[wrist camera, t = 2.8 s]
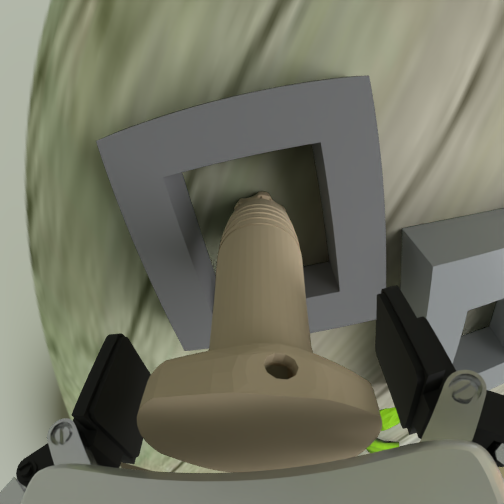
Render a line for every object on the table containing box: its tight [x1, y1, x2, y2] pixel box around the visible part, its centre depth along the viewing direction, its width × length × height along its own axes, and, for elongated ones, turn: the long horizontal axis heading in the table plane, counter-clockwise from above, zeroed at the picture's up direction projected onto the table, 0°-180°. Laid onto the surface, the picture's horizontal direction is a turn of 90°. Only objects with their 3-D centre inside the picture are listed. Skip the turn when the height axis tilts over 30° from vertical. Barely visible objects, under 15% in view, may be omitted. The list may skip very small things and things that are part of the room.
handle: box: [137, 191, 382, 473], centre depth 14 cm, size 5×6×15 cm
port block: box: [400, 208, 504, 390], centre depth 21 cm, size 18×15×6 cm
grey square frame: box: [96, 76, 386, 351], centre depth 19 cm, size 15×14×4 cm
